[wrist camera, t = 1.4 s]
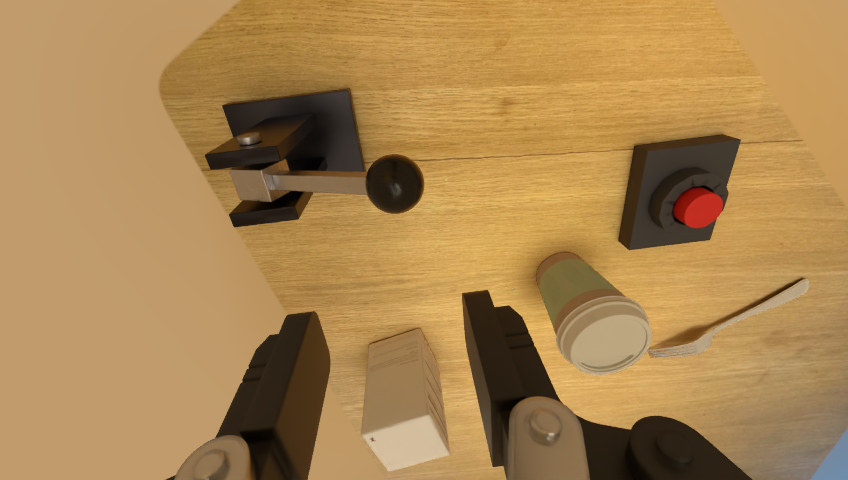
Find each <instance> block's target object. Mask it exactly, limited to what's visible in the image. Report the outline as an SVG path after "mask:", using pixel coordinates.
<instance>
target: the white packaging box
mask: <svg viewBox="0 0 848 480" xmlns="http://www.w3.org/2000/svg"><path fill="white" fill-rule="evenodd" d="M361 436H362V437H363V438H364V439H365V441H366V442H367V444H368V445H369V446H370V448H371V449H372V450H373V452H374V453H375V454H376V455H377V457H378V458H379V460H380V461H381V462H382V463H383V465H384V466H385V468H386V469H387V470H388V471H389V472H392V471H395V470H398V469H402V468H405V467H409V466H412V465H416V464H419V463H423V462H426V461H430V460H433V459H437V458H441V457H444V456H448V455H450V449H449V442H448V434H447V427H446V420H445V413H444V405H443V397H442V388H441V380H440V372H439V366H438V363H437V361H436V359H435V357H434V355H433V353H432V351H431V349H430V347H429V345H428V343H427V341H426V339H425V337H424V335H423V333H422V331H421V329H420V328H418V329H415V330H412V331H409V332H406V333H403V334H400V335H397V336H394V337H391V338H388V339H385V340H382V341H379V342H376V343H373V344H370V345H369V351H368V363H367V374H366V385H365V396H364V407H363V418H362V429H361Z"/></svg>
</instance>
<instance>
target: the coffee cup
mask: <svg viewBox="0 0 848 480" xmlns="http://www.w3.org/2000/svg"><path fill="white" fill-rule="evenodd" d="M536 281H537V284H538V286H539V289H540V292H541V295H542V298H543V300H544V303H545V306H546V309H547V311H548V314H549V317H550V320H551V322H552V325H553V328H554V330H555V333H556V336H557V338H556V342H557V347H558V349H559V351H560V353H561V354H562V355H563V356H564V357H565V359H566V360H567V361H569V362H570V363H571V364H573V365H574V366H575V367H576V368H577V369H579V370H580V371H582V372H584V373H587V374H592V375H606V374H612V373H616V372H619V371H621V370H624V369H626V368H628V367H629V366H631V365H633V364H634V363H636V362H637V361H638V360H639V359H640V358H641V357H642V356H643V355H644V354H645V353H646V352H647V350H648V348H649V346H650V344H651V341H652V331H651V328H650V325H649V320H648V317H647V315H646V313H645V312H644V310H643V308H642V307H641V305H640V304H638V303H637V302H636V301H634V300H632V299H630V298H627V297H626V296H624V295H623V294H622V293H621V292H620V291H619V290H617V289H616V288H615V287H614V286H613V285H612V284H610V283H609V282H608V281H607V280H606V279H605V278H603V277H602V276H601V275H600V274H599V273H598V272H596V271H595V270H594V269H593V268H592V267H591V266H589V265H588V264H587V263H586V262H585V261H584V260H582V259H581V258H580V257H579V256H577V255H576V254H573V253H568V252H563V253H558V254H555V255H552V256H550V257H549V258H547V259H546V260H545V261H544V262H543V263H542V264H541V265H540V266H539V268H538V270H537V274H536Z"/></svg>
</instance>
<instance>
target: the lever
mask: <svg viewBox="0 0 848 480" xmlns="http://www.w3.org/2000/svg"><path fill="white" fill-rule="evenodd" d="M229 172H230V174H231V177H232V180H233V182H234V185H235V188H236V190H237V193H238V196H239V198H240V200H246V201H261V202H273V201H275V200H276V199H278V198H280V197H281V196H283V195H285V194H287V193H288V192H290V191H302V192H322V193H342V194H362V195H368V197H369V199H370V201H371V202H372V203H373V204H374V205H375V206H376V207H377V208H378V209H380V210H382V211H384V212H386V213H391V214H399V213H404V212H406V211H409V210H410V209H412V208H413V207H414V206H415V205H417V203H418V202H419V201H420V199H421V197H422V194H423V191H424V178H423V174H422V172H421V170H420V168H419V167H418V165H417V164H416V163H415V162H414V161H413V160H411V159H410V158H408V157H406V156H403V155H398V154H391V155H386V156H383V157H381V158H379V159H378V160H376V161H375V162H374V163H373V164H372V165H371V167H370V168H369V170H368V172H343V171H301V170H289V167H288V164H287V160H286V159H282V160H281V161H280V162H272V163H264V164H256V165H248V166H240V167H233V168H231V169H229Z"/></svg>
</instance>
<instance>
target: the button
mask: <svg viewBox="0 0 848 480" xmlns="http://www.w3.org/2000/svg"><path fill="white" fill-rule="evenodd" d="M722 208H723V201H722V199H721V198H720V196H718V195H717V194H715V193H712V192H710V191H708V190H706V189H704V188H700V187H697V188H691V189H689V190H687V191H685V192H684V193H682V194H681V195H680V196H679V197H678V199H677V200H676V201H675V203H674V206H673V214H674V216H675V217H676V218H677V219H678V220H680V221H681V222H683V223H684V224H686V225H687V226H689V227H691V228H701V227H705V226H707V225H709V224H711V223H712V222H713V221H714V220H715V219H716V218H717V217H718V216H719V215H720V213H721V211H722Z"/></svg>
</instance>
